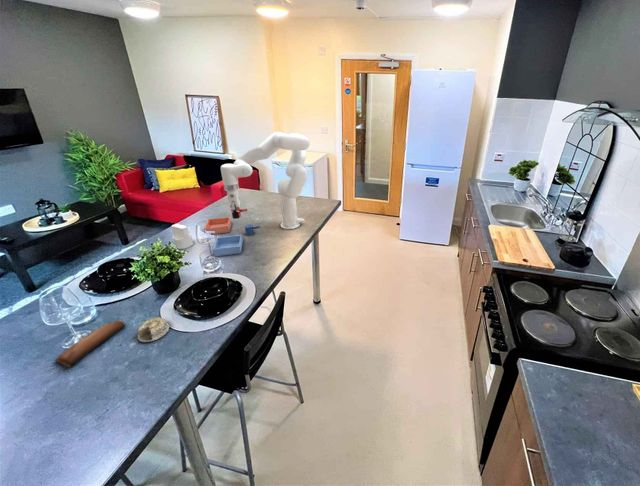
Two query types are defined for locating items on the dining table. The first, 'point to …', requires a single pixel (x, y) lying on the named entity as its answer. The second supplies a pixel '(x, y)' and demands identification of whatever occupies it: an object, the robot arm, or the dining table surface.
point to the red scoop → (239, 211)
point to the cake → (152, 329)
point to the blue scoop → (250, 229)
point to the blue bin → (228, 245)
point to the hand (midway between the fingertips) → (236, 216)
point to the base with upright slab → (182, 236)
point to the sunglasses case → (88, 343)
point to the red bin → (218, 225)
